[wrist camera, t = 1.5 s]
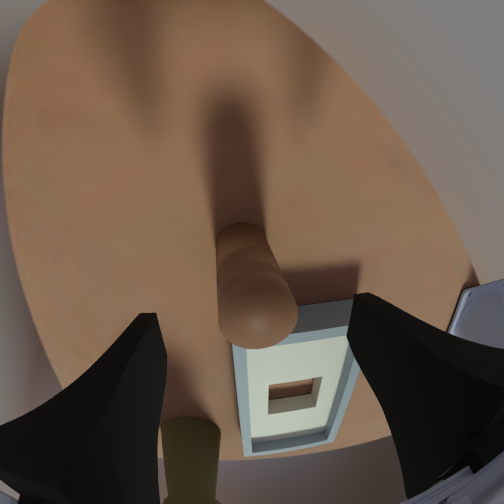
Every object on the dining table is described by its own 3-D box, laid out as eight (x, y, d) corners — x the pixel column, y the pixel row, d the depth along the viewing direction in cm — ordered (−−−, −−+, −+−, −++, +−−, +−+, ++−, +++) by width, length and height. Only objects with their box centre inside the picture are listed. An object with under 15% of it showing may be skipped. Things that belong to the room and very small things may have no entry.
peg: (266, 221, 16) (300, 281, 10) (266, 268, 18) (295, 344, 11) (213, 224, 16) (214, 288, 10) (217, 272, 17) (222, 352, 11)
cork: (152, 418, 23) (143, 520, 13) (213, 414, 23) (221, 522, 13) (172, 446, 25) (171, 533, 15) (226, 442, 25) (236, 532, 15)
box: (356, 298, 20) (373, 320, 17) (325, 421, 26) (333, 441, 23) (229, 312, 19) (231, 340, 16) (241, 434, 25) (244, 456, 22)
